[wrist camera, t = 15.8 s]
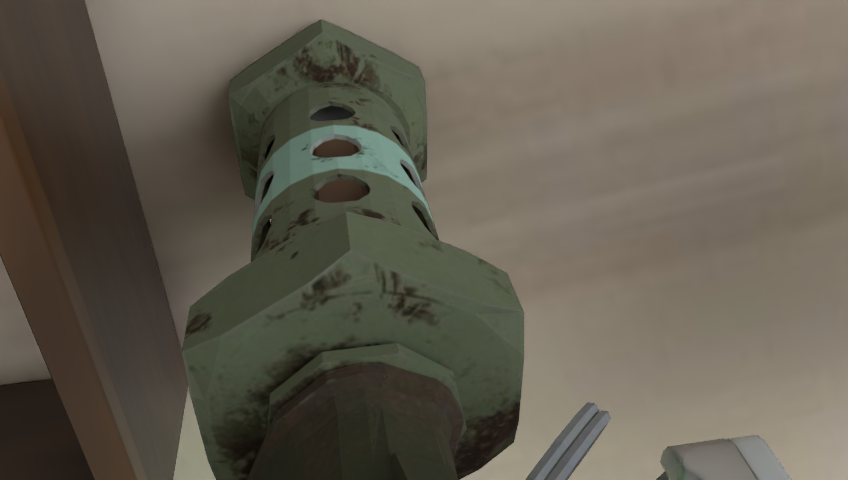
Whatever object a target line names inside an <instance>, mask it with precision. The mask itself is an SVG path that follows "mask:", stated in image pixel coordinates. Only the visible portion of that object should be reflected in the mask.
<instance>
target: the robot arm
mask: <svg viewBox="0 0 848 480" xmlns="http://www.w3.org/2000/svg"><path fill="white" fill-rule="evenodd" d="M660 462H661V464H662V466H663V468H664V470H665V472H664V473H663V474H662V475H661V476H660V477H658V478H657V479H656V480H791V478H790V477H789V475H788V474H787V472H786V471H785V469H784V468H783V466H782V465H781V464H780V462H779V461H778V459H777V458H776V456H775V455H774V453H773V452H772V450H771V449H770V447H769V446H768V445H767V443H766V442H765V440H764V439H762V438H761V437H759V436H758V435H752V436H745V437H738V438H731V439H717V440H710V441H703V442H696V443H689V444H682V445H675V446H669V447H667V448H666V449H665V450H664V451H663V453H662V457H661V461H660Z"/></svg>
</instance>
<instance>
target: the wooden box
mask: <svg viewBox="0 0 848 480" xmlns="http://www.w3.org/2000/svg"><path fill="white" fill-rule="evenodd" d="M0 256H1V258H2V261H3V263H4V265H5V268H6V270H7V272H8V275H9V277H10V280H11V282H12V284H13V287H14V289H15V291H16V294H17V296H18V299H19V301H20V303H21V306H22V308H23V310H24V313H25V315H26V318H27V320H28V322H29V325H30V327H31V329H32V332H33V334H34V337H35V339H36V341H37V344H38V346H39V348H40V351H41V353H42V356H43V358H44V360H45V363H46V365H47V367H48V370H49V372H50V375H51V377H52V379H53V380H47V381H38V382H30V383H22V384H13V385H5V386H0V480H173V476H174V470H175V464H176V458H177V451H178V445H179V439H180V433H181V427H182V420H183V414H184V408H185V402H186V396H187V389H188V380H187V375H186V370H185V365H184V359H183V355H182V352H181V348H180V344H179V341H178V337H177V334H176V330H175V326H174V323H173V319H172V316H171V312H170V308H169V305H168V301H167V297H166V294H165V290H164V287H163V283H162V279H161V276H160V272H159V269H158V265H157V261H156V258H155V254H154V250H153V247H152V243H151V240H150V236H149V232H148V229H147V225H146V222H145V218H144V214H143V211H142V207H141V203H140V200H139V196H138V193H137V189H136V185H135V182H134V178H133V175H132V171H131V167H130V164H129V160H128V156H127V153H126V149H125V146H124V142H123V138H122V135H121V131H120V128H119V124H118V120H117V117H116V113H115V109H114V106H113V102H112V99H111V95H110V91H109V88H108V84H107V80H106V77H105V73H104V70H103V66H102V62H101V59H100V55H99V52H98V48H97V44H96V41H95V37H94V33H93V30H92V26H91V23H90V19H89V15H88V12H87V8H86V5H85V1H84V0H0Z"/></svg>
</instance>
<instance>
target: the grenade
mask: <svg viewBox="0 0 848 480" xmlns="http://www.w3.org/2000/svg"><path fill="white" fill-rule="evenodd" d="M228 99H229V106H230V113H231V120H232V127H233V133H234V138H235V144H236V149H237V155H238V161H239V166H240V172H241V177H242V181H243V186H244V190H245V195H247V196H248V197H250V198H252V199H254V200H255V211H254V223H253V236H252V250H251V263H249V264H248V265H246V266H244V267H243V268H241V269H239V270H238V271H236V272H235V273H233V274H231V275H230V276H228V277H227V278H226V279H224V280H223V281H222V282H221V283H219V284H218V285H217V286H216V287H214V288H213V289H212V290H211V291H209V292H208V293H207V294H206V295H205V296H203V297H202V298H201V299H200V300H198V301H197V302H196V303H195V304H193V305H192V306H191V307H190V310H189V315H188V321H187V327H186V332H185V338H184V343H183V349H182V354H183V359H184V365H185V370H186V375H187V380H188V386H189V391H190V396H191V400H192V403H193V407H194V411H195V414H196V418H197V422H198V425H199V429H200V433H201V436H202V440H203V443H204V447H205V451H206V454H207V458H208V462H209V464H210V466H211V469H212V471H213V473H214V476H215V478H216V480H460V479H461V478H463V477H465V476H467V475H469V474H471V473H473V472H475V471H477V470H479V469H480V468H482V467H483V466H484V465H485V464H487V463H488V462H489V461H491V460H492V459H493V458H494V457H496V456H497V455H498V454H499V453H501V452H502V451H503V450H504V449H506V448H507V447H508V446H509V445H511V444H512V443H513V442H514V439H515V434H516V430H517V426H518V422H519V411H520V399H521V387H522V374H523V362H524V311H523V309H522V307H521V304H520V302H519V300H518V297H517V295H516V293H515V290H514V288H513V286H512V283H511V281H510V279H509V276H508V274H507V273H506V272H504V271H502V270H500V269H499V268H497V267H495V266H493V265H491V264H489V263H487V262H486V261H484V260H482V259H480V258H478V257H476V256H474V255H472V254H471V253H469V252H467V251H464V250H462V249H459V248H456V247H454V246H451V245H449V244H446V243H443V242H441V241H439V238H438V235H437V232H436V229H435V225H434V222H433V219H432V216H431V213H430V210H429V206H428V203H427V201H426V198H425V194H424V191H423V187H422V184H421V183H422V182H423V181H424V180H425V179H426V173H427V122H426V96H425V80H424V78H423V76H422V73H421V71H420V69H419V67H417V66H416V65H414V64H412V63H410V62H409V61H407V60H405V59H403V58H401V57H400V56H398V55H396V54H394V53H392V52H390V51H388V50H386V49H384V48H382V47H380V46H378V45H376V44H374V43H372V42H370V41H367V40H365V39H363V38H361V37H359V36H357V35H355V34H353V33H351V32H349V31H347V30H345V29H342V28H340V27H337V26H335V25H333V24H330V23H328V22H325V21H323V20H320V21H318V22H316V23H315V24H313V25H311V26H309V27H308V28H306V29H304V30H303V31H301V32H299V33H297V34H296V35H295V36H293V37H292V38H290V39H289V40H287V41H286V42H284V43H283V44H281V45H280V46H278V47H277V48H275V49H274V50H272V51H271V52H269V53H268V54H266V55H265V56H263V57H262V58H260V59H259V60H257V61H256V62H255V63H253V64H252V65H250V66H249V67H248V68H247V69H245V70H244V71H243V72H241V73H240V74H239V75H237V76H236V77H235V78H234V79H232V80H231V81H230V87H229V93H228ZM271 218H273V220H272V223H270V220H269V219H271ZM598 412H599V409H598V407H597V405H596V404H595V403H587V404H586V405H585V406H584V407H583V408H582V409H581V410H580V411H579V412H578V413H577V414H576V415H575V416H574V418H573V419H572V420H571V421H570V423H569V424H568V425H567V426H566V428H565V429H564V430H563V431H562V432H561V434H560V435H559V436H558V437H557V439H556V440H555V441H554V443H553V444H552V445H551V446H550V448H549V449H548V450H547V452H546V453H545V454H544V456H543V457H542V458H541V460H540V461H539V462H538V464H537V465H536V466H535V468H534V469H533V470H532V472H531V473H530V474H529V476H528V477H527V478H526V480H568V478H569V477H570V476H571V474H572V473H573V472H574V470H575V469H576V467H577V466H578V465H579V463H580V462H581V461H582V459H583V458H584V456H585V455H586V454H587V452H588V451H589V450H590V448H591V447H592V445H593V444H594V443H595V441H596V440H597V438H598V437H599V435H600V434H601V433H602V431H603V430H604V428H605V427H606V425H607V424H608V422H609V421H610V419H611V416H610V414H609V412H608V411H600V412H599V413H598Z"/></svg>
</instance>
